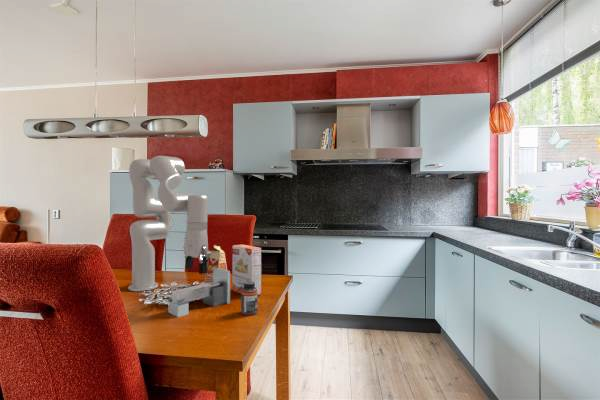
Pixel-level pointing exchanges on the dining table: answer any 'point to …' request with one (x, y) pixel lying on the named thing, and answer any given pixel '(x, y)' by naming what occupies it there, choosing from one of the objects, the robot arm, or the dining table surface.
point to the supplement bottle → (249, 298)
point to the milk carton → (215, 262)
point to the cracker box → (246, 266)
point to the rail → (194, 292)
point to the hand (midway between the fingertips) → (195, 270)
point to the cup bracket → (219, 288)
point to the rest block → (178, 308)
